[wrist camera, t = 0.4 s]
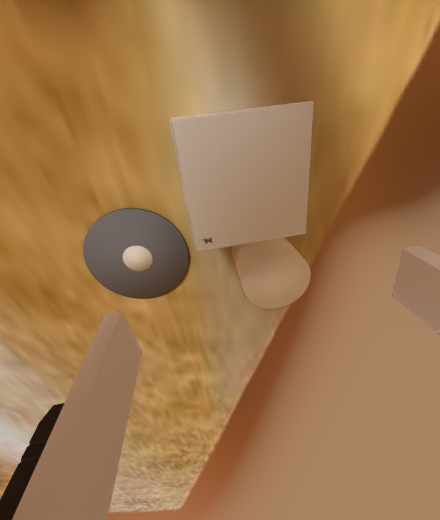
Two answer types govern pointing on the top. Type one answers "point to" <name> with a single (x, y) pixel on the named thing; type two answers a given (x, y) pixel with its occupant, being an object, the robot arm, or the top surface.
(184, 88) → the top surface
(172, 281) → the base disk
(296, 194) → the supplement box
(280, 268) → the beige rounded cylinder
